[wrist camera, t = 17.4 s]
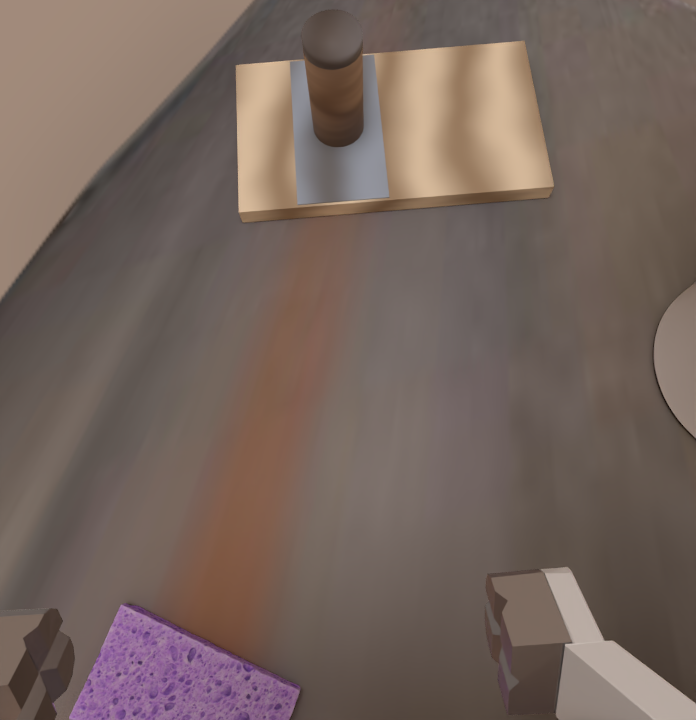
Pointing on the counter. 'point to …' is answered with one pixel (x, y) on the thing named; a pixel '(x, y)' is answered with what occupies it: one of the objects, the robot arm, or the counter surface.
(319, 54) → the peg
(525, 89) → the plywood board
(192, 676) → the sponges
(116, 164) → the counter surface
